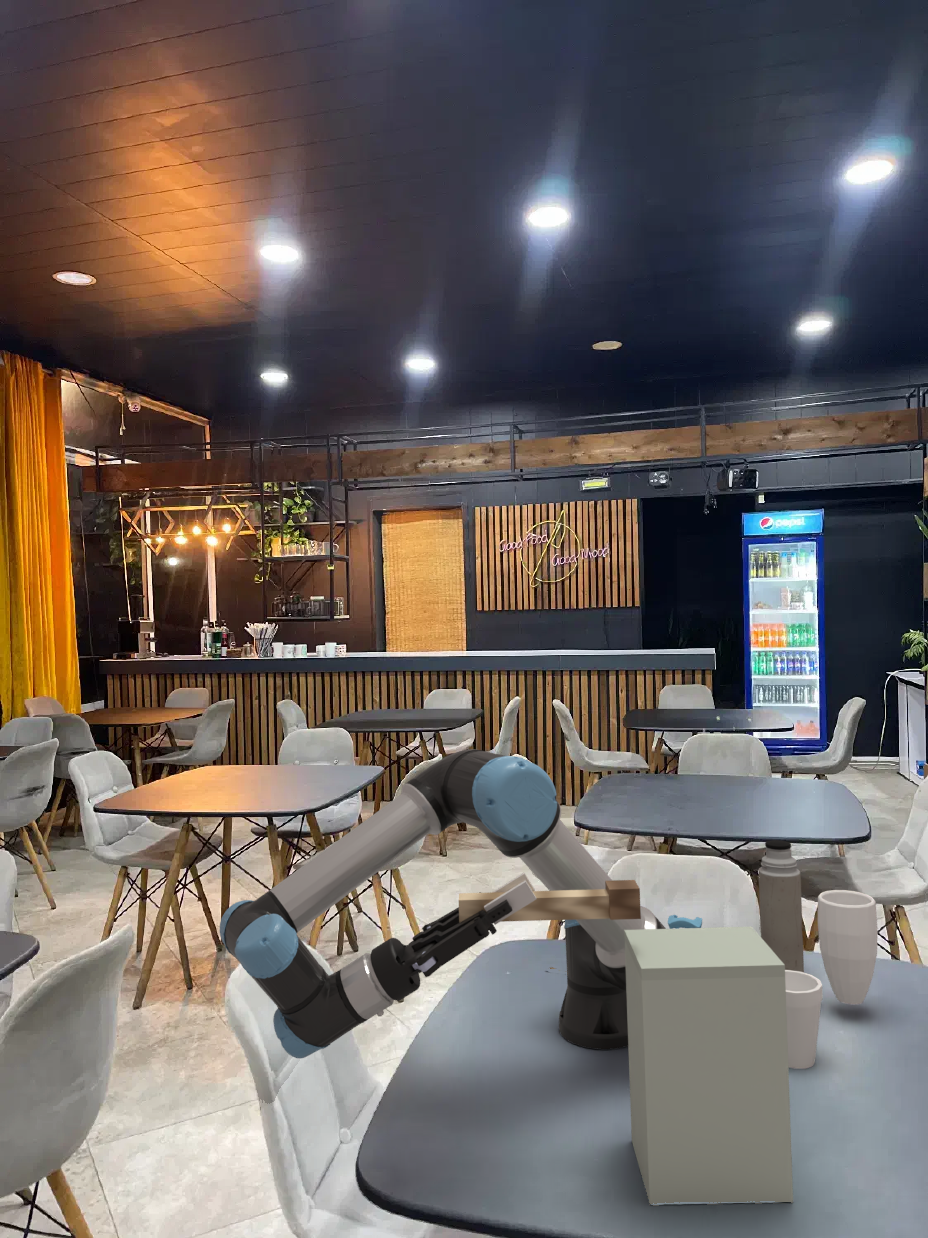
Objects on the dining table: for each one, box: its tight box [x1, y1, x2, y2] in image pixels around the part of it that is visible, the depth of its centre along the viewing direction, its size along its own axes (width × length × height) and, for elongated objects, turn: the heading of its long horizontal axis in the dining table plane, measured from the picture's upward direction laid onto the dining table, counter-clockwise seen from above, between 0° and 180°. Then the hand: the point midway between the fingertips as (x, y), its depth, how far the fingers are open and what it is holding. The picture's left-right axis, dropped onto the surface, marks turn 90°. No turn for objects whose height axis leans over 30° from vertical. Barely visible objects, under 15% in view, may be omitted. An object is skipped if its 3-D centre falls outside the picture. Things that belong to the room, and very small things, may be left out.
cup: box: [817, 889, 879, 1006], centre depth 163 cm, size 10×10×22 cm
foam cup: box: [785, 970, 824, 1070], centre depth 148 cm, size 10×9×13 cm
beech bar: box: [458, 879, 641, 923], centre depth 120 cm, size 24×4×4 cm, turn 89°
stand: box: [624, 926, 794, 1205], centre depth 120 cm, size 18×14×30 cm
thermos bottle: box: [758, 839, 805, 973], centre depth 179 cm, size 8×8×28 cm
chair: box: [667, 914, 703, 929], centre depth 186 cm, size 8×8×12 cm
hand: (529, 885), depth 120 cm, fingers closed on beech bar, 3 cm apart
